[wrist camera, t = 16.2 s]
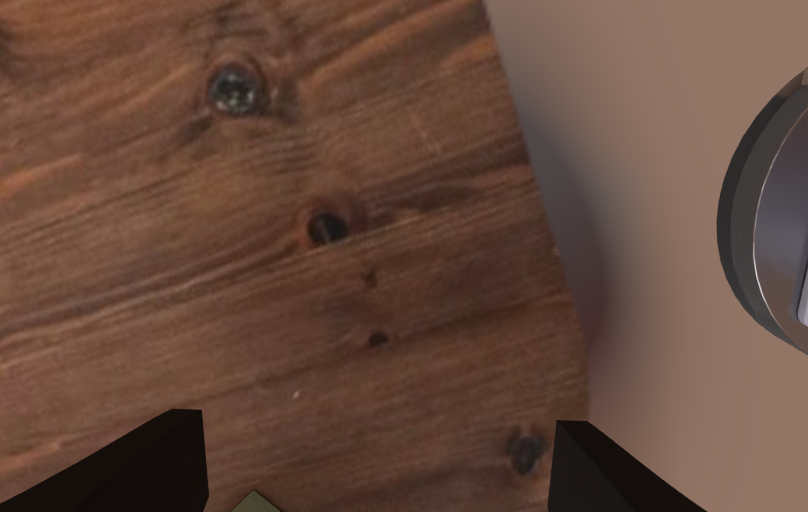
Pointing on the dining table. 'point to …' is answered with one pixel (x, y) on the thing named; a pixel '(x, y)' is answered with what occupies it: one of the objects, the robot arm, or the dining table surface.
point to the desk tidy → (255, 504)
